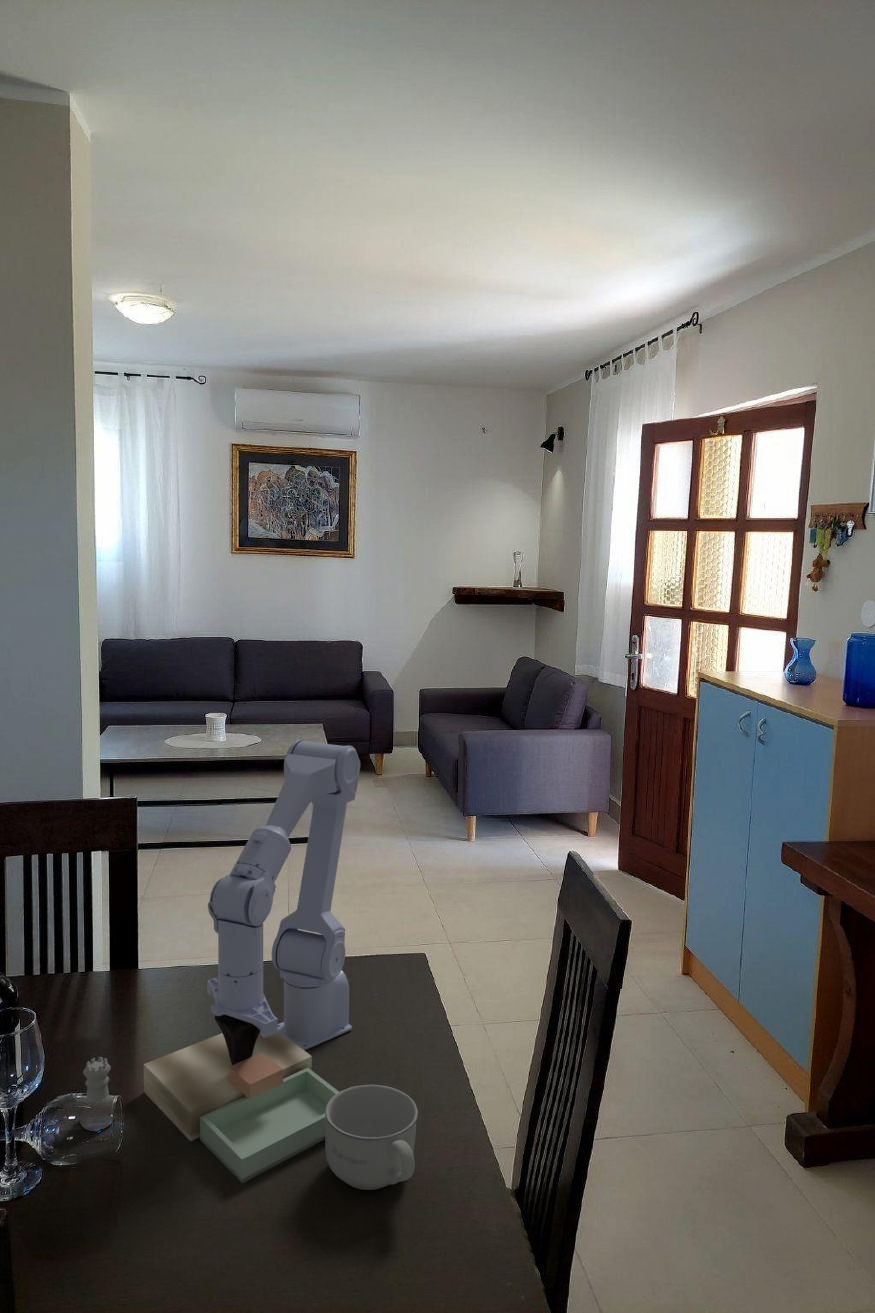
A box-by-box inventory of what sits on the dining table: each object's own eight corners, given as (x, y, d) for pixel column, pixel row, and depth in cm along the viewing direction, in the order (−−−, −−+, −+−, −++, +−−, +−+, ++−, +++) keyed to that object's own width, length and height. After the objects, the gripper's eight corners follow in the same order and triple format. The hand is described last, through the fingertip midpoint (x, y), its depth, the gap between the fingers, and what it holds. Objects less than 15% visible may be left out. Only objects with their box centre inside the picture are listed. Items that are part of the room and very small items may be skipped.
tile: (261, 1066, 118) (261, 1052, 117) (283, 1083, 114) (283, 1069, 114) (228, 1081, 114) (228, 1067, 114) (249, 1099, 111) (249, 1084, 110)
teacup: (314, 1153, 107) (314, 1091, 106) (397, 1132, 111) (398, 1072, 110) (348, 1236, 94) (349, 1167, 94) (441, 1208, 99) (443, 1142, 98)
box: (307, 1088, 120) (307, 1067, 119) (352, 1124, 113) (353, 1102, 112) (199, 1139, 109) (199, 1117, 109) (242, 1183, 102) (242, 1159, 101)
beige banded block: (260, 1043, 130) (260, 1017, 130) (311, 1083, 121) (311, 1056, 120) (144, 1092, 118) (143, 1064, 118) (190, 1141, 109) (190, 1111, 108)
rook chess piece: (104, 1136, 109) (102, 1075, 108) (71, 1130, 110) (70, 1070, 109) (123, 1113, 114) (122, 1055, 113) (92, 1108, 114) (91, 1050, 113)
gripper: (186, 956, 117) (187, 1052, 119) (242, 998, 107) (243, 1103, 108) (233, 941, 122) (233, 1033, 124) (292, 980, 112) (291, 1080, 113)
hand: (241, 1064), depth 116 cm, fingers closed
